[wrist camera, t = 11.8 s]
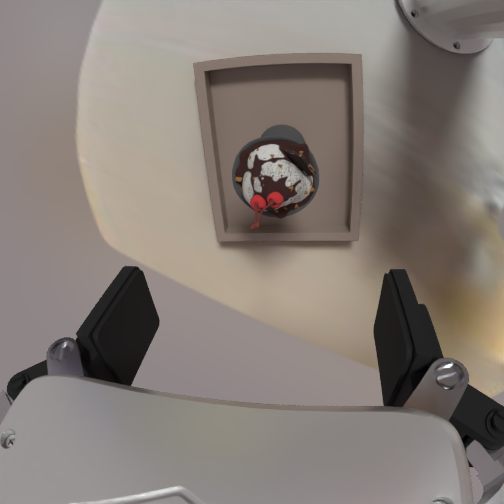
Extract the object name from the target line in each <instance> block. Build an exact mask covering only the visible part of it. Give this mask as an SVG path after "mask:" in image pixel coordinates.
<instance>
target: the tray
mask: <svg viewBox="0 0 504 504" xmlns="http://www.w3.org/2000/svg"><path fill="white" fill-rule="evenodd" d="M193 66H194V75H195V83H196V92H197V100H198V108H199V116H200V123H201V131H202V139H203V146H204V153H205V161H206V168H207V175H208V182H209V189H210V195H211V202H212V209H213V215H214V222H215V228H216V235H217V241H358V239H359V227H360V213H361V197H362V176H363V135H364V114H363V74H362V55H361V54H342V53H292V54H271V55H257V56H245V57H235V58H227V59H219V60H211V61H204V62H198V63H193ZM275 125H288V126H291V127H293V128H295V129H296V130H298V131H299V132H300V133H301V134H302V136H303V138H304V140H305V143H306V144H307V145H308V147H309V150H310V151H311V153H312V154H313V156H314V158H315V160H316V163H317V166H318V169H319V187H318V189H317V192H316V194H315V196H314V198H313V199H312V201H311V202H310V203H309V204H308V205H307V206H306V207H304V208H303V209H302V210H300V211H299V212H297V213H295V214H293V215H290V216H287V217H284V218H282V219H280V218H276V217H268V216H265V215H262V214H261V216H260V221H259V227H258V228H256V229H254V230H251V228H250V226H251V225H252V224H254V223H255V211H254V210H252V209H251V208H250V207H248V206H247V205H246V204H245V203H244V202H243V201H242V200H241V199H240V198H239V196H238V195H237V193H236V191H235V189H234V187H233V181H232V169H233V164H234V161H235V158H236V156H237V154H238V153H239V151H240V150H241V149H242V148H243V147H244V146H245V145H246V144H247V143H248V142H250V141H252V140H255V139H257V138H260V137H261V135H262V134H263V133H264V132H265V131H266V130H267V129H268V128H270V127H272V126H275ZM259 214H260V213H257V221H258V217H259Z"/></svg>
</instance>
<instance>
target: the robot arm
mask: <svg viewBox="0 0 504 504" xmlns="http://www.w3.org/2000/svg"><path fill="white" fill-rule="evenodd" d="M398 2H399V5H400V7H401V9H402V11H403V13H404V15H405V16H406V18H407V19H408V21H409V22H410V24H411V25H412V26H413V27H414V28H415V29H416V30H417V31H418V33H419V34H421V35H422V36H423V37H424V38H425V39H427V40H428V41H429V42H431V43H432V44H434V45H436V46H437V47H439V48H442V49H444V50H446V51H450V52H454V53H462V54H468V53H475V52H479V51H481V50H483V49H485V48H486V47H487V46H488V45H489V44H490V43H491V42H492V41H493V39H494V38H504V0H398ZM411 13H413V14H414V17H413V16H412V15H411ZM453 44H454V45H455V48H454V46H453ZM158 327H159V317H158V314H157V311H156V308H155V306H154V303H153V300H152V297H151V294H150V291H149V288H148V285H147V282H146V279H145V276H144V273H143V271H141V270H140V269H139V268H138V267H136V266H125V267H123V268H122V270H121V271H120V272H119V274H118V275H117V276H116V278H115V279H114V280H113V282H112V283H111V284H110V286H109V287H108V289H107V290H106V291H105V293H104V294H103V295H102V297H101V298H100V300H99V301H98V303H97V304H96V305H95V307H94V308H93V309H92V311H91V312H90V314H89V315H88V317H87V318H86V320H85V321H84V322H83V324H82V325H81V327H80V328H79V330H78V331H77V333H76V335H77V339H76V340H74V339H73V338H70V337H64V338H61V339H59V340H57V341H55V342H54V343H53V344H52V345H51V346H50V347H49V349H48V351H47V356H46V357H47V360H45V361H43V362H40V363H38V364H36V365H34V366H32V367H30V368H28V369H26V370H23V371H21V372H19V373H17V374H16V375H14V376H13V377H12V378H11V379H10V381H9V382H8V385H7V392H5V391H2V392H0V504H474V501H473V491H472V482H471V475H470V469H469V467H474V468H475V469H476V471H477V472H478V473H479V474H478V475H477V477H478V478H479V479H480V481H481V483H482V485H483V490H484V491H483V495H482V498H481V499H480V501H479V502H478V503H477V504H504V407H503V406H502V405H500V404H499V403H497V402H496V401H494V400H493V399H491V398H489V397H488V396H486V395H485V394H483V393H482V392H480V391H478V390H477V389H475V388H474V387H472V386H471V385H469V384H468V382H469V374H468V372H467V369H466V368H465V367H464V365H463V364H462V363H460V362H459V361H457V360H454V359H452V358H444V357H443V354H442V351H441V348H440V345H439V342H438V339H437V336H436V333H435V330H434V327H433V324H432V321H431V318H430V315H429V313H428V310H427V308H426V306H425V305H424V304H418V302H417V299H416V296H415V293H414V291H413V288H412V285H411V283H410V280H409V277H408V275H407V272H406V270H405V269H391V270H390V271H389V273H385V275H384V279H383V284H382V290H381V295H380V300H379V305H378V310H377V315H376V319H375V324H374V339H375V345H376V352H377V358H378V365H379V372H380V380H381V387H382V395H383V404H384V406H296V405H275V404H260V403H246V402H235V401H225V400H216V399H208V398H200V397H192V396H185V395H179V394H172V393H165V392H160V391H153V390H148V389H142V388H138V387H132V386H131V384H132V382H133V380H134V378H135V375H136V373H137V371H138V369H139V367H140V365H141V363H142V360H143V358H144V356H145V354H146V352H147V350H148V348H149V346H150V344H151V341H152V340H153V337H154V335H155V333H156V331H157V329H158Z"/></svg>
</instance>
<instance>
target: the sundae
mask: <svg viewBox="0 0 504 504" xmlns="http://www.w3.org/2000/svg"><path fill="white" fill-rule="evenodd" d="M232 181H233V187H234V189H235V191H236V193H237V195H238V196H239V198H240V199H241V200H242V201H243V202H244V203H245V204H246V205H247V206H248V207H250V208H251V209H252V210H254V211H255V223H254V224H252V225H251V226H250V228H251V230H254V229H256V228H258V227H259V221H260V216H261V214H262V215H265V216H268V217H276V218H280V219H282V218H284V217H287V216H290V215H293V214H295V213H297V212H299V211H300V210H302V209H303V208H304V207H306V206H307V205H308V204H309V203H310V202H311V201H312V199H313V198H314V196H315V194H316V192H317V189H318V187H319V169H318V166H317V163H316V160H315V158H314V156H313V154H312V153H311V151H310V150H309V147H308V145H307V144H306V143H305V140H304V138H303V136H302V134H301V133H300V132H299V131H298V130H296V129H295V128H293V127H291V126H288V125H275V126H272V127H270V128H268V129H267V130H266V131H265V132H264V133H263V134H262V135H261V137H260V138H257V139H255V140H252V141H250V142H248V143H247V144H246V145H245V146H244V147H243V148H242V149H241V150H240V151H239V153H238V154H237V156H236V158H235V161H234V164H233V169H232ZM257 213H260V214H259V217H258V221H257Z"/></svg>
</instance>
